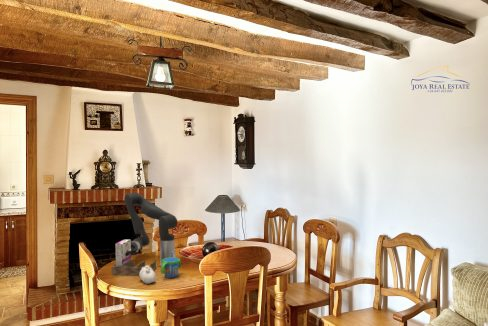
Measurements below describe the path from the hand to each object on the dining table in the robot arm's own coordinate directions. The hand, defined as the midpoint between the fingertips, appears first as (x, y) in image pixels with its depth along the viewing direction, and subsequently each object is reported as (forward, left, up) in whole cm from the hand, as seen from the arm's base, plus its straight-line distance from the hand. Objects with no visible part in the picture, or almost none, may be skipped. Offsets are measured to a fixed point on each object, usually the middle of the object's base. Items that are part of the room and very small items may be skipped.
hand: (121, 254), depth 229 cm
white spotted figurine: (-22, +15, -11) cm, 29 cm away
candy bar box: (0, -3, -9) cm, 9 cm away
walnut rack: (-7, -2, -11) cm, 13 cm away
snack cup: (-33, +5, -11) cm, 35 cm away
